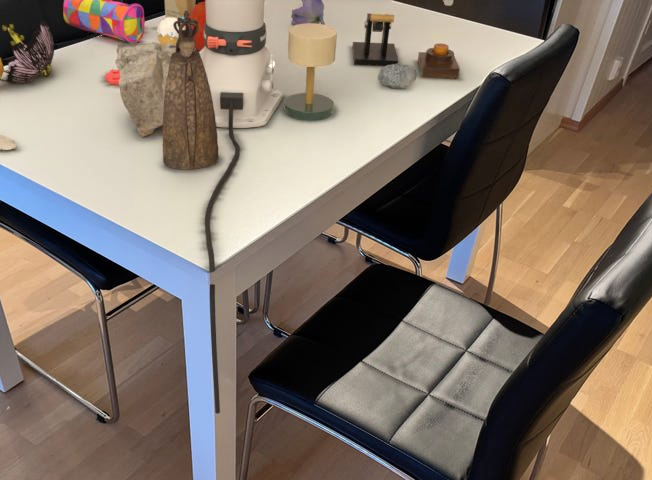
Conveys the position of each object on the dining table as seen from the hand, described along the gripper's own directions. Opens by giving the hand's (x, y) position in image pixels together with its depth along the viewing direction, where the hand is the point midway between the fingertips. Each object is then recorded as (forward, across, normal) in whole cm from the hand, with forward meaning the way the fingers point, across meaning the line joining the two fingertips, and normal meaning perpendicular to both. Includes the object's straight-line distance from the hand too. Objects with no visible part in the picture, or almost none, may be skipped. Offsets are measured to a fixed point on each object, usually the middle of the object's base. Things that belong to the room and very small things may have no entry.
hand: (447, 3), depth 146 cm
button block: (+14, -1, 0) cm, 14 cm away
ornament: (+14, -3, -61) cm, 63 cm away
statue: (+15, +51, -48) cm, 71 cm away
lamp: (+15, +26, -28) cm, 41 cm away
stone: (+8, +28, -62) cm, 69 cm away
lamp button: (+10, -1, 0) cm, 11 cm away
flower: (+14, -25, -29) cm, 41 cm away
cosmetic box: (+14, -12, -60) cm, 63 cm away
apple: (+14, -6, -52) cm, 54 cm away
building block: (+14, +18, -67) cm, 71 cm away
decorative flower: (+9, +24, -85) cm, 89 cm away
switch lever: (+6, -3, -14) cm, 15 cm away
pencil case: (+8, -11, -81) cm, 82 cm away
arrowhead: (+14, +47, -89) cm, 102 cm away
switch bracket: (+14, -8, -14) cm, 21 cm away
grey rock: (+14, +12, -9) cm, 21 cm away
